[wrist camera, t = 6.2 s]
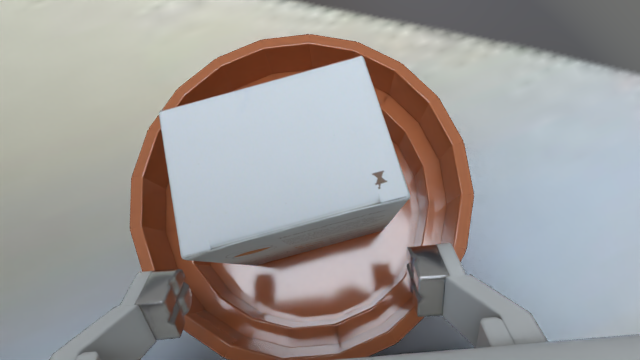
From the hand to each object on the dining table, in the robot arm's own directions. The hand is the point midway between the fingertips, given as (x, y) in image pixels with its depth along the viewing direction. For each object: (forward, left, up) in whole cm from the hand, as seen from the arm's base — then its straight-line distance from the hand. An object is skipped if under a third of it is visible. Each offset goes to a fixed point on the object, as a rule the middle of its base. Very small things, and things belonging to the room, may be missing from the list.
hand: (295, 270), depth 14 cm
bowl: (0, +4, -9) cm, 10 cm away
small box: (0, +4, -9) cm, 10 cm away
